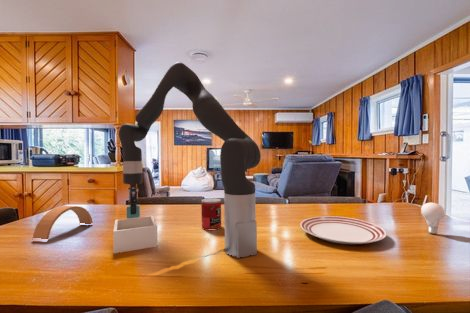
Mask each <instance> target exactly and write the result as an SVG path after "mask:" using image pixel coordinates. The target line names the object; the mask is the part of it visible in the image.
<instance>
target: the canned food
mask: <svg viewBox="0 0 470 313" xmlns="http://www.w3.org/2000/svg"><path fill="white" fill-rule="evenodd" d="M200 204H201V205H200V206H201V209H200V210H201V228H202V229H203V228H204V229H203V230H205V229H217V230H219V229H221V228H220V227H222V201H221V199H220V198H214V197H211V198H204V199H201V203H200ZM218 228H219V229H218Z"/></svg>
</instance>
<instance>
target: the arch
mask: <svg viewBox="0 0 470 313" xmlns="http://www.w3.org/2000/svg"><path fill="white" fill-rule="evenodd" d="M69 211H72V212H73V213H75V215H76V216H77V218H78V221H79V224H80V223H85V224H91V223H93V218H92V215H91V214H90V211H88V210H87V209H86V208H85V207H82V206H76V205H75V206H73V205H59V206H56V207H54V208H52V209H50V210H49V211H47V212H46V213H44V215H43V216H42V217H41V218H40V219H39V221H38V223H37V224H36V226H35V229H34V231H33V235H32V239H33V238H41V239H48V238H49V239H50V233H51V230H52V229H53V226H54V225H55V222H57V220H58V218H59V217H61V216H62V215H63V214H64V213H66V212H69Z"/></svg>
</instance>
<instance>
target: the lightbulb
mask: <svg viewBox="0 0 470 313" xmlns="http://www.w3.org/2000/svg"><path fill="white" fill-rule="evenodd" d="M420 212H421V215H422V216H423V218H424V219H425V221H426V224H427V232H428V233H429V234H431V235H436V234H438V233H439V232H438V229H439V228H438V227H439V224H440V222H441V220H442V219H443V218H444V217H445V215H446V214H445V209H444V207H443V206H442V205H440V204H439V203H436V202H426V203H424V204H423V205H422V206H421V208H420Z"/></svg>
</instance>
